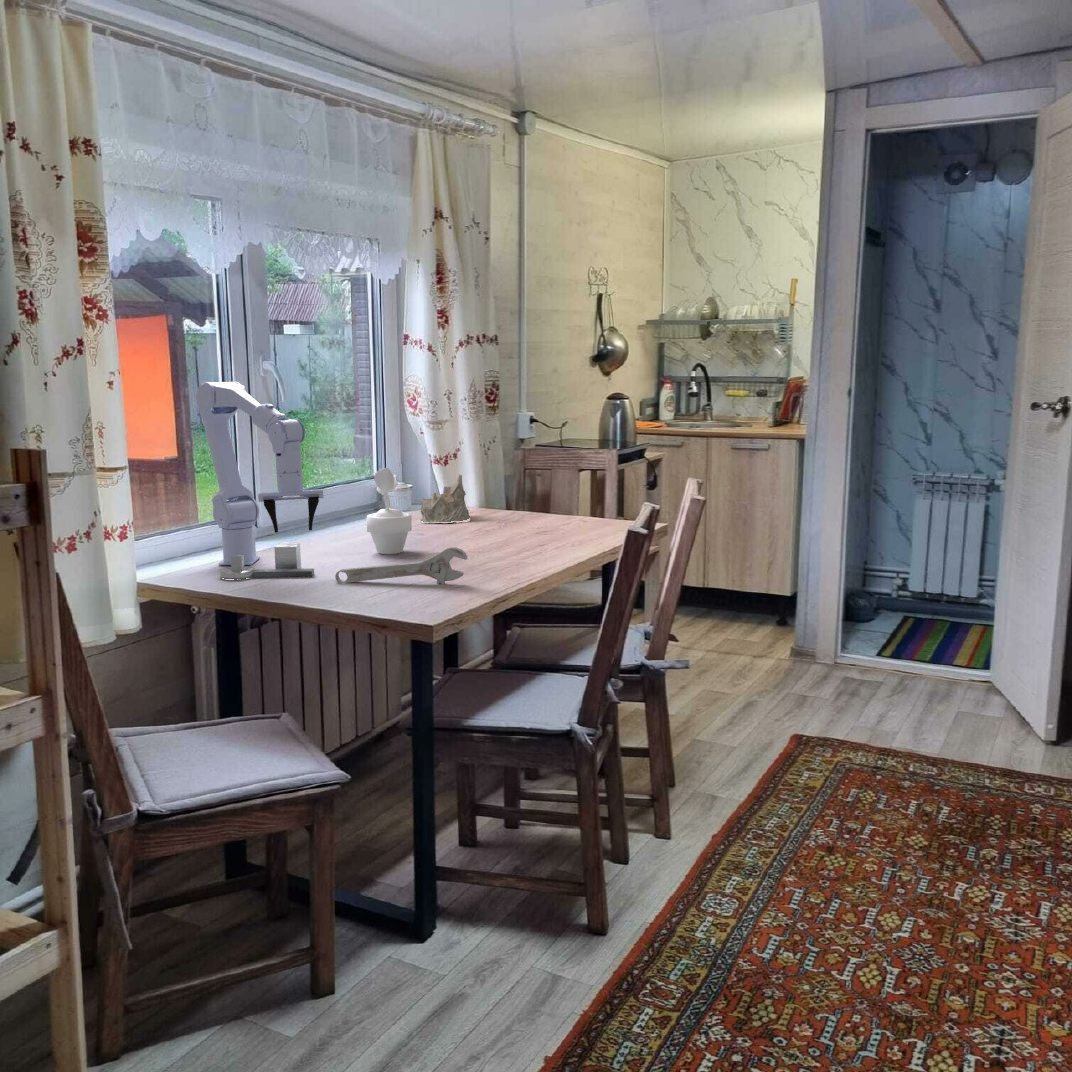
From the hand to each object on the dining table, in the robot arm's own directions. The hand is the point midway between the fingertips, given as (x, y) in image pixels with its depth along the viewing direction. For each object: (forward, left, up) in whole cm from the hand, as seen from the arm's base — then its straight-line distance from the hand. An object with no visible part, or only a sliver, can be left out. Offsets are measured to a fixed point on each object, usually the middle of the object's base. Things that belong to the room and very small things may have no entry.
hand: (293, 530), depth 234 cm
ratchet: (+3, -6, -10) cm, 12 cm away
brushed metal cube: (-4, -2, -10) cm, 11 cm away
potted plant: (-26, +20, -10) cm, 34 cm away
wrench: (+12, +26, -10) cm, 30 cm away
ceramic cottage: (-80, +32, -10) cm, 86 cm away
